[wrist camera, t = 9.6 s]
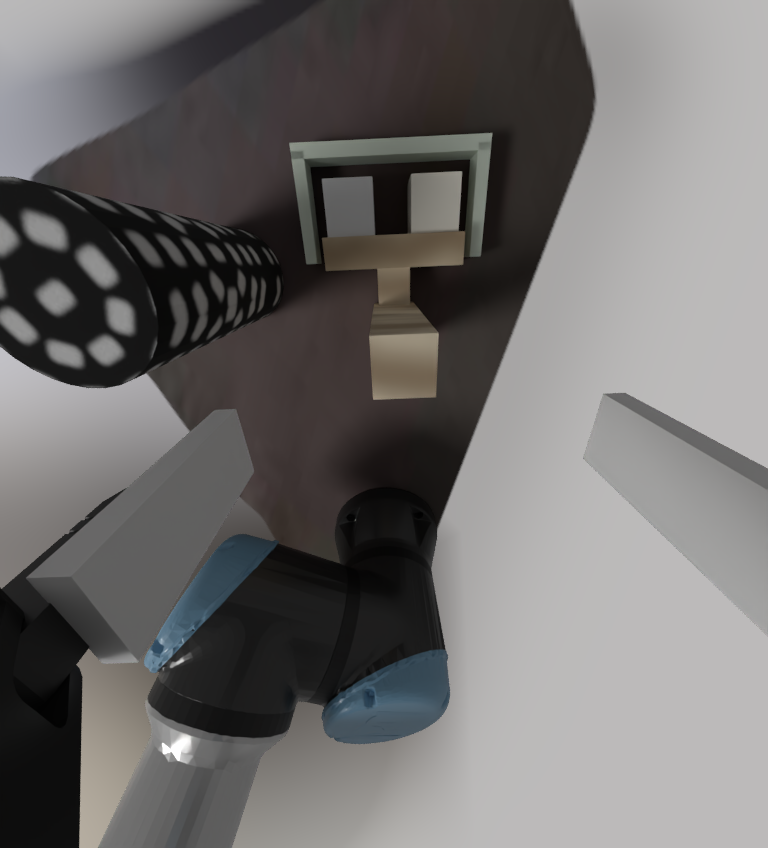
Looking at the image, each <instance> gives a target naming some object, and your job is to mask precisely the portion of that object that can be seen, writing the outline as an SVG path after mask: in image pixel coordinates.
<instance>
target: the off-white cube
mask: <svg viewBox="0 0 768 848" xmlns="http://www.w3.org/2000/svg"><path fill="white" fill-rule="evenodd" d="M461 183H462V171H455V172H436V173H416V174H411V176H410V179H409V182H408V185H407V201H408V234H413V233H435V232H456V231H459V215H460V199H461Z"/></svg>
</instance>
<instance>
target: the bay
mask: <svg viewBox="0 0 768 848" xmlns="http://www.w3.org/2000/svg"><path fill="white" fill-rule="evenodd" d="M491 142H492V133H481V134H461V135H441V136H421V137H401V138H381V139H361V140H340V141H320V142H300V143H289V144H290V151H291V159H292V166H293V173H294V180H295V187H296V194H297V201H298V208H299V215H300V222H301V230H302V237H303V244H304V251H305V258H306V264H322V261H321V253H320V244H319V236H318V228H317V219H316V211H315V202H314V194H313V186H312V177H311V169H310V167H325V166H346V165H366V164H387V163H407V162H428V161H448V160H469V159H470V169H469V183H468V197H467V211H466V226H465V244H464V257H478V256H481V248H482V238H483V227H484V216H485V206H486V195H487V185H488V174H489V163H490V153H491Z"/></svg>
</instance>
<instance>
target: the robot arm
mask: <svg viewBox="0 0 768 848" xmlns="http://www.w3.org/2000/svg"><path fill="white" fill-rule="evenodd" d="M583 459H584V460H585V461H586V462H587V463H588V464H589V465H590V466H591V467H593V468H594V469H595V470H596V471H597V472H598V473H599V474H600V475H601V476H602V477H603V478H604V479H605V480H606V481H607V482H608V483H609V484H610V485H611V486H612V487H613V488H614V489H615V490H616V491H617V492H618V493H620V494H621V495H622V496H623V497H624V498H625V499H626V500H627V501H628V502H629V503H630V504H631V505H632V506H633V507H634V508H635V509H636V510H637V511H638V512H639V513H640V514H641V515H642V516H643V517H644V518H646V519H647V520H648V521H649V522H650V523H651V524H652V525H653V526H654V527H655V528H656V529H657V530H658V531H659V532H660V533H661V534H662V535H663V536H664V537H665V538H666V539H667V540H668V541H669V542H670V543H671V544H672V545H674V546H675V547H676V548H677V549H678V550H679V551H680V552H681V553H682V554H683V555H684V556H685V557H686V558H687V559H688V560H689V561H690V562H691V563H692V564H693V565H694V566H696V568H697V569H698V570H699V571H701V572H702V573H703V574H704V575H705V576H706V577H707V578H708V579H709V580H710V581H711V582H712V583H713V584H714V585H715V586H716V587H717V588H718V589H719V590H720V591H721V592H722V593H723V594H725V596H727V597H728V598H729V599H730V600H731V601H732V602H733V603H734V604H735V605H736V606H737V607H738V608H739V609H740V610H741V611H742V612H743V613H744V614H745V615H746V616H747V617H748V618H749V619H751V621H752V622H753V623H754V624H756V625H757V626H758V627H759V628H760V629H761V630H762V631H763V632H764V633H765V634H766V635H767V636H768V469H767V468H766V467H764V466H762V465H760V464H758V463H756V462H754V461H752V460H750V459H748V458H747V457H745V456H743V455H741V454H739V453H737V452H735V451H734V450H732V449H730V448H728V447H726V446H724V445H722V444H720V443H718V442H717V441H715V440H713V439H710V438H709V437H707V436H705V435H703V434H701V433H699V432H698V431H696V430H694V429H692V428H690V427H688V426H686V425H685V424H683V423H681V422H679V421H677V420H675V419H673V418H671V417H669V416H668V415H666V414H664V413H662V412H660V411H658V410H656V409H654V408H652V407H650V406H649V405H647V404H645V403H643V402H641V401H639V400H637V399H636V398H634V397H631V396H630V395H628V394H626V393H613V394H603V397H602V400H601V403H600V406H599V409H598V413H597V416H596V419H595V422H594V425H593V429H592V432H591V435H590V438H589V441H588V444H587V447H586V451H585V454H584V457H583ZM253 473H254V469H253V465H252V462H251V458H250V455H249V452H248V448H247V445H246V441H245V438H244V435H243V431H242V428H241V424H240V421H239V417H238V414H237V411H236V409H226V410H214V411H213V412H212V413H211V414H210V415H209V416H208V417H206V418H205V419H204V420H203V421H202V422H201V423H200V424H199V425H197V426H196V427H195V428H194V429H193V430H192V431H191V432H190V433H188V434H187V435H186V436H185V437H184V438H183V439H182V440H181V441H179V442H178V443H177V444H176V445H175V446H174V447H173V448H172V449H170V450H169V451H168V452H167V453H166V454H165V455H164V456H163V457H161V458H160V459H159V460H158V461H157V462H156V463H155V464H154V465H152V467H150V468H149V469H148V470H147V471H146V472H145V473H143V474H142V475H141V476H140V477H139V478H138V479H137V480H136V481H134V482H133V483H132V484H131V485H130V486H129V487H128V488H126V489H124V490H122V491H120V492H119V493H117V494H115V495H114V496H112V497H110V498H109V499H107V500H105V501H103V502H102V503H101V504H100V505H99V506H98V507H96V508H95V509H94V510H93V511H92V512H91V513H89V514H88V515H87V516H86V517H85V520H82V521H80V522H79V523H78V524H77V525H76V526H74V527H73V528H72V529H71V530H70V533H69V534H65V535H64V536H63V537H62V538H60V539H59V540H58V541H57V542H56V543H55V544H53V545H52V546H51V547H50V548H49V549H48V550H47V551H46V552H44V553H43V554H42V555H41V556H39V557H38V558H37V559H36V560H35V561H34V562H33V563H31V564H30V565H29V566H28V567H27V568H26V569H24V570H23V571H22V572H21V573H20V574H19V575H17V576H16V577H15V578H14V579H13V580H12V581H10V582H9V583H8V584H7V585H6V586H5V587H3V588H2V589H1V588H0V848H79V824H80V823H79V822H80V773H81V772H80V771H81V719H82V717H81V716H82V675H81V672H80V669H79V667H78V666H77V665H76V664H77V663H78V662H79V660H80V659H81V658H82V656H83V655H84V654H85V652H86V651H87V650H88V648H89V649H90V650H91V651H92V652H93V653H94V655H95V656H96V657H97V658H98V659H99V660H100V661H101V662H102V663H103V664H106V663H132V662H133V663H135V662H139V661H140V660H141V658H142V656H143V655H144V653H145V651H146V650H147V648H148V646H149V645H150V643H151V641H152V640H153V638H154V637H155V635H156V633H157V632H158V630H159V628H160V627H161V625H162V623H163V622H164V620H165V618H166V617H167V615H168V613H169V612H170V610H171V608H172V607H173V605H174V603H175V602H176V600H177V598H178V597H179V595H180V594H181V592H182V590H183V588H184V587H185V585H186V584H187V582H188V580H189V578H190V577H191V575H192V574H193V572H194V570H195V569H196V567H197V565H198V564H199V562H200V560H201V559H202V557H203V555H204V554H205V552H206V550H207V549H208V547H209V545H210V544H211V542H212V541H213V539H214V537H215V535H216V534H217V532H218V531H219V529H220V527H221V525H222V524H223V522H224V521H225V519H226V517H227V516H228V514H229V512H230V511H231V509H232V507H233V506H234V504H235V502H236V501H237V499H238V498H239V496H240V494H241V493H242V491H243V489H244V488H245V486H246V484H247V483H248V481H249V479H250V478H251V476H252V474H253ZM436 540H437V528H436V523H435V518H434V515H433V512H432V510H431V509H430V507H429V506H428V505H427V504H426V503H425V502H424V501H423V500H422V499H421V498H419V497H418V496H416V495H414V494H412V493H409V492H407V491H403V490H399V489H392V488H381V489H374V490H369V491H366V492H363V493H361V494H359V495H357V496H355V497H353V498H352V499H350V500H349V501H348V502H347V503H346V504H345V505H344V506H343V507H342V509H341V510H340V512H339V514H338V517H337V522H336V528H335V541H336V546H337V550H338V554H339V558H340V563H341V564H339V563H336V562H333V561H330V560H327V559H324V558H321V557H318V556H315V555H312V554H308V553H305V552H302V551H299V550H296V549H293V548H290V547H287V546H284V545H281V544H278V543H279V541H277V540H274V541H269V540H265V539H262V538H258V537H254V536H250V535H246V534H238V535H234V536H232V537H230V538H228V539H227V540H225V541H224V542H223V543H222V544H221V545H220V546H219V547H218V548H217V549H216V550H215V552H214V553H213V554H212V555H211V557H210V558H209V559H208V561H207V562H206V563H205V565H204V566H203V567H202V569H201V570H200V571H199V573H198V574H197V576H196V577H195V578H194V580H193V581H192V583H191V584H190V585H189V587H188V589H187V590H186V591H185V593H184V594H183V596H182V597H181V599H180V600H179V602H178V603H177V605H176V606H175V608H174V609H173V611H172V612H171V614H170V615H169V617H168V618H167V620H166V622H165V623H164V625H163V626H162V628H161V630H160V631H159V634H158V636H157V638H156V639H155V641H154V643H153V645H152V646H151V647H150V649H149V650H148V653H147V654H146V657H145V660H144V665H145V666H146V667H147V668H149V670H150V672H151V673H156V672H157V671H158V672H159V675H158V677H157V679H156V681H155V683H154V685H153V687H152V689H151V691H150V693H149V695H148V697H147V699H146V702H145V708H146V711H147V715H148V718H149V721H150V724H151V737H150V739H149V741H148V743H147V746H146V748H145V750H144V752H143V754H142V756H141V758H140V761H139V762H138V764H137V767H136V769H135V771H134V773H133V775H132V778H131V779H130V781H129V783H128V786H127V788H126V790H125V792H124V794H123V796H122V798H121V800H120V803H119V805H118V807H117V809H116V811H115V813H114V815H113V817H112V819H111V821H110V824H109V826H108V828H107V830H106V832H105V834H104V836H103V838H102V841H101V843H100V845H99V847H98V848H232V845H233V842H234V839H235V836H236V833H237V830H238V827H239V824H240V820H241V817H242V814H243V811H244V808H245V805H246V802H247V799H248V796H249V792H250V789H251V786H252V783H253V780H254V777H255V774H256V771H257V768H258V764H259V761H260V758H261V757H262V755H263V754H264V753H265V752H266V751H267V750H269V749H270V748H271V747H272V746H274V745H275V744H276V743H277V742H278V741H280V740H281V739H282V738H283V737H285V736H286V734H287V732H288V730H289V727H290V724H291V720H292V717H293V713H294V710H295V707H296V704H297V702H298V701H301V702H310V703H314V704H319V705H322V706H323V707H324V709H323V712H322V720H323V726H324V730H325V732H326V734H327V735H328V736H329V737H330V738H334V739H335V740H336V741H339V742H343V743H351V744H367V743H377V742H385V741H389V740H394V739H398V738H402V737H405V736H408V735H411V734H414V733H416V732H419V731H421V730H423V729H425V728H427V727H428V726H430V725H431V724H433V723H434V722H436V721H437V720H438V719H439V718H440V717H441V716H442V715H443V713H444V712H445V710H446V708H447V706H448V703H449V698H450V687H449V678H448V669H447V659H448V655H447V653H446V650H445V645H444V639H443V633H442V629H441V622H440V617H439V611H438V605H437V601H436V595H435V589H434V583H433V578H432V571H431V567H432V561H433V556H434V551H435V546H436Z"/></svg>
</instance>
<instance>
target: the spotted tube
mask: <svg viewBox="0 0 768 848" xmlns="http://www.w3.org/2000/svg"><path fill="white" fill-rule="evenodd" d="M282 293H283V275H282V271H281V267H280V264H279V262H278V260H277V258H276V256H275V255H274V253H273V252H272V251H271V249H270V248H269V247H268V246H267V245H266V244H265V243H264V242H263V241H262V240H261V239H259V238H258V237H257V236H255V235H253V234H251V233H249V232H247V231H244V230H239V229H235V228H231V227H227V226H222V225H218V224H214V223H209V222H205V221H201V220H196V219H192V218H188V217H183V216H179V215H175V214H170V213H166V212H162V211H157V210H153V209H149V208H145V207H140V206H136V205H132V204H127V203H123V202H119V201H114V200H110V199H106V198H101V197H97V196H93V195H88V194H84V193H80V192H76V191H71V190H67V189H63V188H58V187H54V186H50V185H45V184H41V183H37V182H32V181H28V180H23V179H19V178H15V177H0V347H2V348H3V349H4V350H5V351H6V352H8V353H9V354H10V355H12V356H13V357H14V358H15V359H17V360H19V361H20V362H22V363H23V364H25V365H27V366H28V367H30V368H31V369H33V370H35V371H37V372H39V373H41V374H43V375H45V376H48V377H50V378H52V379H55V380H58V381H61V382H64V383H67V384H70V385H75V386H80V387H86V388H108V387H113V386H118V385H122V384H124V383H126V382H128V381H131V380H133V379H135V378H137V377H139V376H141V375H143V374H145V373H148V372H150V371H152V370H154V369H156V368H158V367H160V366H162V365H164V364H167V363H169V362H171V361H173V360H175V359H177V358H179V357H181V356H184V355H186V354H188V353H190V352H192V351H194V350H196V349H198V348H200V347H203V346H205V345H207V344H209V343H211V342H213V341H215V340H217V339H219V338H222V337H224V336H226V335H228V334H230V333H232V332H234V331H236V330H238V329H241V328H243V327H245V326H247V325H249V324H251V323H253V322H255V321H257V320H260V319H262V318H264V317H266V316H268V315H269V314H270V313H272V312H273V311H274V310H275V308H276V307H277V306H278V304H279V302H280V300H281V297H282Z"/></svg>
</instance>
